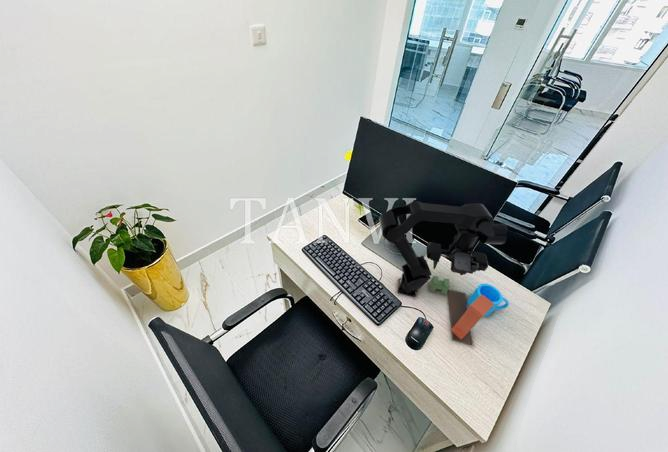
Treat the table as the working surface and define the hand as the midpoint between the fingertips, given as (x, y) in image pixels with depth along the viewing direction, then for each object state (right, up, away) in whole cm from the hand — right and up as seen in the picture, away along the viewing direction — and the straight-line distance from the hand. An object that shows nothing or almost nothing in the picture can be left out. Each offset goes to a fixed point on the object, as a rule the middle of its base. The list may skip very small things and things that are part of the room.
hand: (447, 271), depth 90 cm
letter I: (+2, -19, -5) cm, 19 cm away
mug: (+15, -14, +3) cm, 20 cm away
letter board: (+4, -16, 0) cm, 16 cm away
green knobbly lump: (0, -8, +7) cm, 11 cm away
